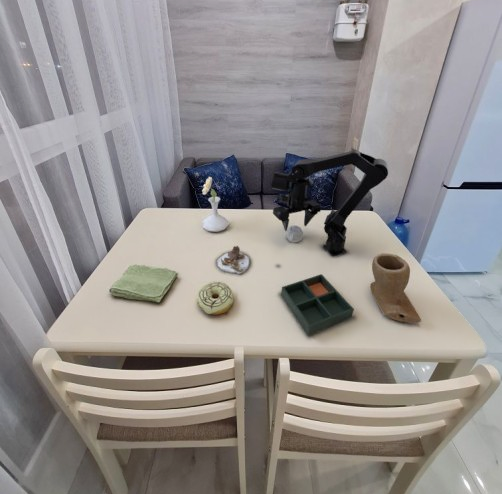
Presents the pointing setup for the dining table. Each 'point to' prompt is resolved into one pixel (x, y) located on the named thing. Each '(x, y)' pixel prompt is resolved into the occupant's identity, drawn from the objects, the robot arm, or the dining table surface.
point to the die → (294, 233)
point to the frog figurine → (233, 261)
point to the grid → (316, 304)
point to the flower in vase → (213, 211)
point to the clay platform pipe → (392, 287)
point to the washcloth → (143, 283)
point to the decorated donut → (217, 304)
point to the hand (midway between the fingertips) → (295, 228)
